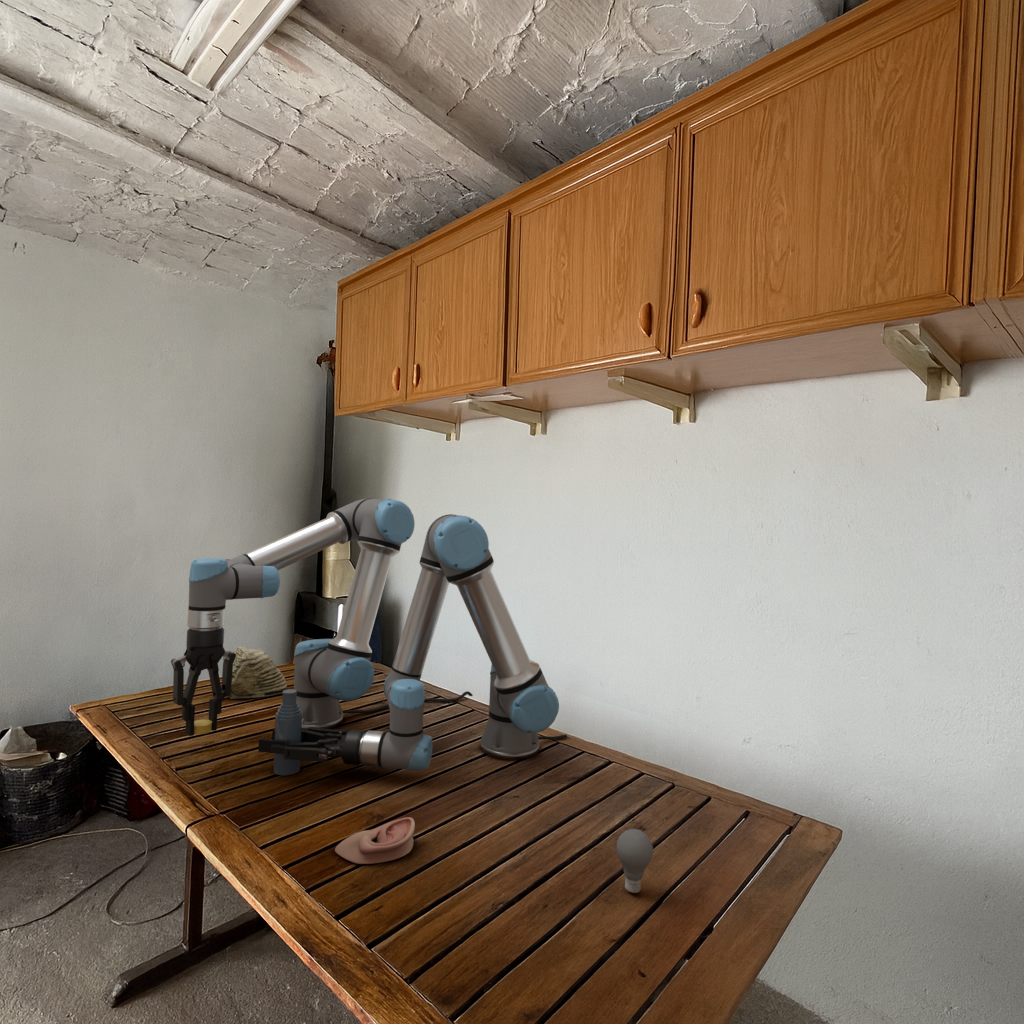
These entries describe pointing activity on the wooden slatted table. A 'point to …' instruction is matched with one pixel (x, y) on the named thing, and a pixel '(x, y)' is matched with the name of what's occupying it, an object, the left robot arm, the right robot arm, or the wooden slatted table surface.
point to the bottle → (288, 731)
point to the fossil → (255, 675)
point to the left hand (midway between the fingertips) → (201, 731)
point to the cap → (202, 726)
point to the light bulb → (634, 857)
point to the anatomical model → (379, 843)
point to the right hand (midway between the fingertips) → (266, 739)
